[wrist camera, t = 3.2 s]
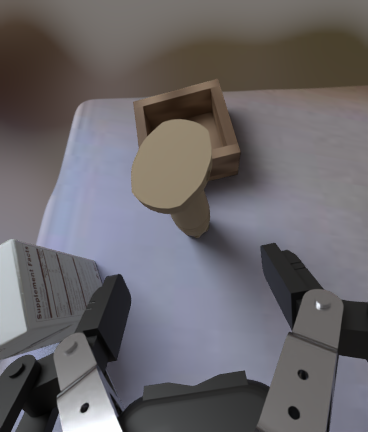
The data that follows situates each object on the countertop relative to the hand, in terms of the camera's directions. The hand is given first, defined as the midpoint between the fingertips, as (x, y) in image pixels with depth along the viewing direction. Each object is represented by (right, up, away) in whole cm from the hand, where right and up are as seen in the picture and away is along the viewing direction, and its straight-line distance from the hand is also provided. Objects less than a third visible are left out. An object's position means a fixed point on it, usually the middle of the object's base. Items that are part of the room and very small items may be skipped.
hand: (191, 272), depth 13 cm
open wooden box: (0, +13, +19) cm, 23 cm away
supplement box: (-13, -7, +15) cm, 21 cm away
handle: (+1, +2, +16) cm, 16 cm away
